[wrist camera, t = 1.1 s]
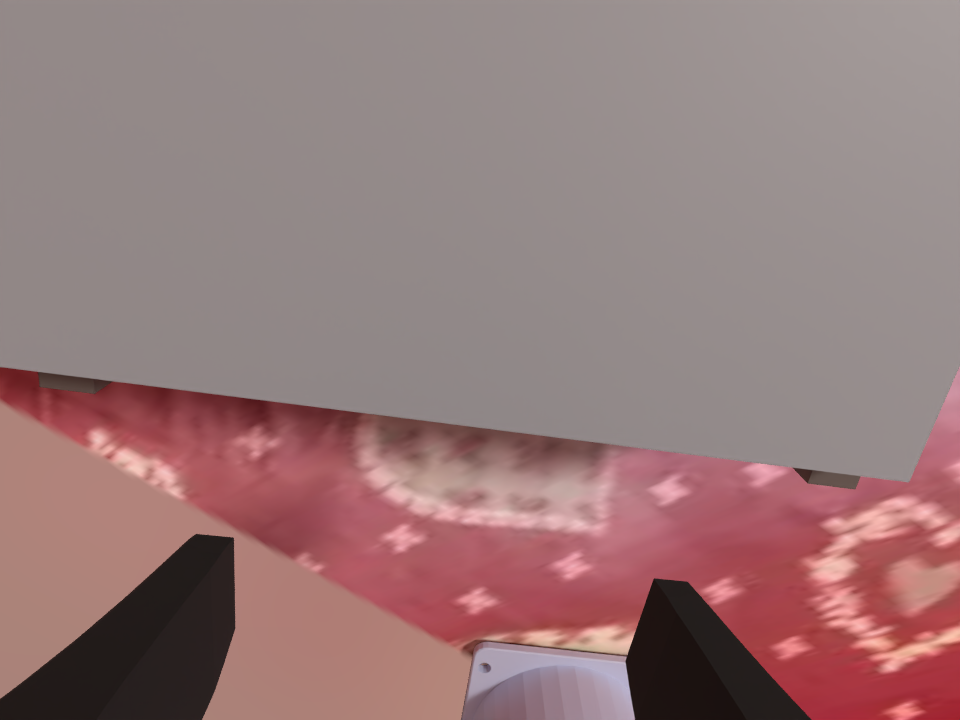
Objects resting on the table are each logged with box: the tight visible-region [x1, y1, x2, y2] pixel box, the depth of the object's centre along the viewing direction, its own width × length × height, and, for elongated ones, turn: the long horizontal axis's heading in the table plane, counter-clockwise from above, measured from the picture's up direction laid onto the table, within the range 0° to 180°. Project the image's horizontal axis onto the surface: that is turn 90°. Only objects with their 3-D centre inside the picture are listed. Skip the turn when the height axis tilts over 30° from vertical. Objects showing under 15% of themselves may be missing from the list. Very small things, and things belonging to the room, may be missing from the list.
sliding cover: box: [0, 0, 960, 482], centre depth 11 cm, size 12×19×1 cm, turn 82°
